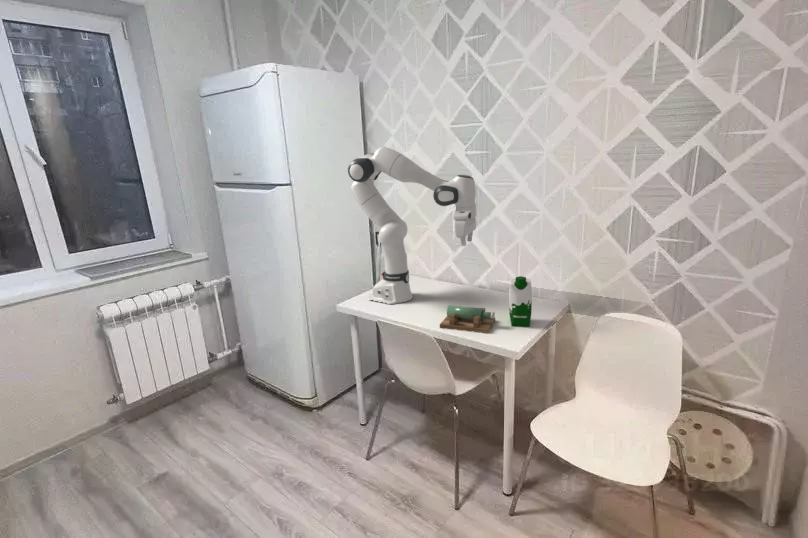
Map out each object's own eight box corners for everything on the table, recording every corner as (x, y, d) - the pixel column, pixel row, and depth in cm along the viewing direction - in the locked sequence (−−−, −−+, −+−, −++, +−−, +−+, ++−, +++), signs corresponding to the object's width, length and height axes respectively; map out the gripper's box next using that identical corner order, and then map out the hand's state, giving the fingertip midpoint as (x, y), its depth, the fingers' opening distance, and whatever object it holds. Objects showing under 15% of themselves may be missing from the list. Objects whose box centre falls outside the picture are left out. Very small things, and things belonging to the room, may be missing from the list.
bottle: (445, 312, 172) (448, 302, 175) (448, 319, 175) (451, 309, 178) (491, 317, 164) (494, 306, 167) (493, 324, 167) (495, 313, 170)
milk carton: (509, 327, 168) (509, 279, 162) (508, 318, 176) (509, 272, 171) (532, 327, 165) (532, 279, 160) (530, 318, 174) (531, 272, 168)
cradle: (488, 333, 163) (487, 320, 162) (439, 327, 171) (439, 315, 170) (495, 320, 174) (495, 308, 173) (449, 316, 183) (449, 304, 181)
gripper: (465, 209, 193) (466, 238, 197) (452, 216, 175) (453, 248, 179) (479, 209, 191) (479, 238, 194) (466, 216, 173) (467, 248, 177)
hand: (466, 243), depth 187 cm, fingers open, 8 cm apart
